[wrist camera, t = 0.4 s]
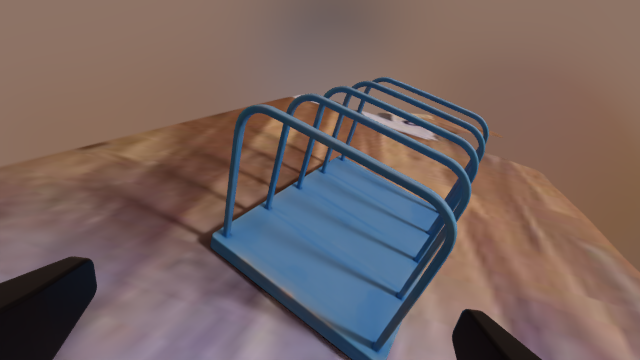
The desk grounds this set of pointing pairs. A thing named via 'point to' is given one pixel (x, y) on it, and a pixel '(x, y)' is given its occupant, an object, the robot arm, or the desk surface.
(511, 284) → the desk surface
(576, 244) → the desk surface
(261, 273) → the file sorter
